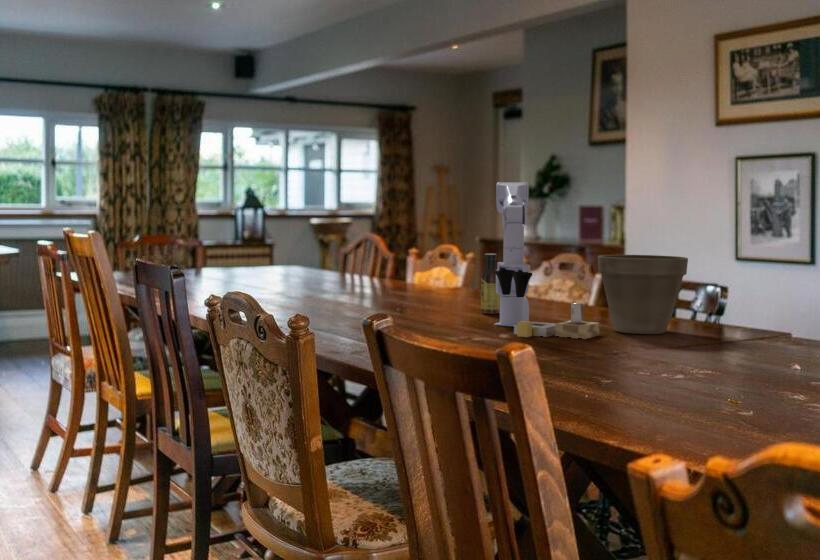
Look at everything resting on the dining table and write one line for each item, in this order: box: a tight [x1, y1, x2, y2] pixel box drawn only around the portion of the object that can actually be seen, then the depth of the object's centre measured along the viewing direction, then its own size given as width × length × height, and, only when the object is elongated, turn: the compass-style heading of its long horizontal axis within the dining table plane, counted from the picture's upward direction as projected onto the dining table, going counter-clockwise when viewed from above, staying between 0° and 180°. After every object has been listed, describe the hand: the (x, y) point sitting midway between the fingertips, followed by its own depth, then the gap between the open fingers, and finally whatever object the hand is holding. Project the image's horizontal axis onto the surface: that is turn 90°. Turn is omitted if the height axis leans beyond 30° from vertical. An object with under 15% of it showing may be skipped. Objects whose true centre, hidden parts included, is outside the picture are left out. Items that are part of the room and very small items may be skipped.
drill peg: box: [570, 302, 584, 325], centre depth 263 cm, size 3×3×9 cm
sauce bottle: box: [480, 253, 500, 315], centre depth 314 cm, size 6×6×20 cm
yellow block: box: [516, 320, 533, 338], centre depth 262 cm, size 3×3×4 cm
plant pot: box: [597, 254, 689, 335], centre depth 271 cm, size 25×25×22 cm
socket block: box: [513, 321, 556, 338], centre depth 267 cm, size 10×10×2 cm
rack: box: [554, 319, 600, 340], centre depth 263 cm, size 9×9×4 cm
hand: (513, 295), depth 269 cm, fingers open, 7 cm apart
